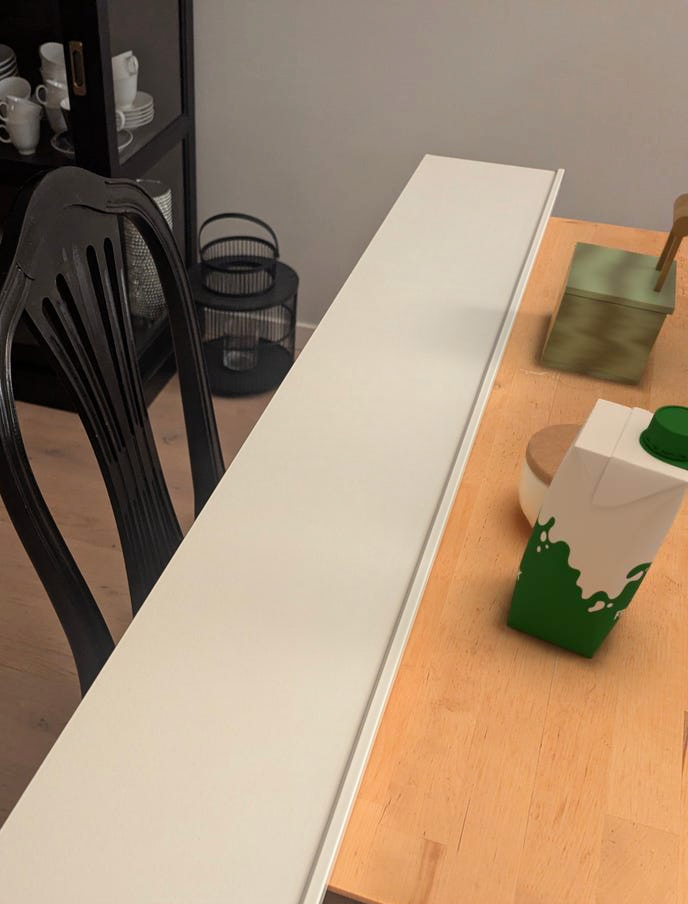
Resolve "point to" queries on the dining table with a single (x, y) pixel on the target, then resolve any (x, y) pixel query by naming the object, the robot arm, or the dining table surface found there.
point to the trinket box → (543, 465)
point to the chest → (600, 337)
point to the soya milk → (601, 524)
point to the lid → (630, 270)
